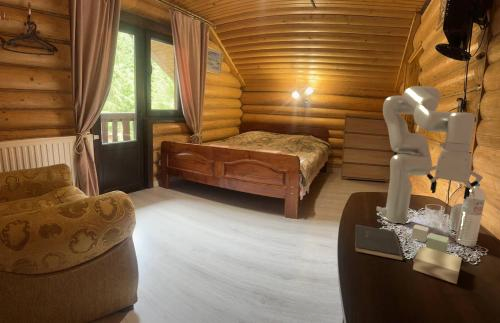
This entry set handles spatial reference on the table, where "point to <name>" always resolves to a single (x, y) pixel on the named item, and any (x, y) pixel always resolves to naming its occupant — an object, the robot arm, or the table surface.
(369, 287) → the table surface
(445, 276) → the birch block
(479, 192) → the water bottle
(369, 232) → the hardcover book
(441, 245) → the sage cube
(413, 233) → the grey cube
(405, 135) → the robot arm
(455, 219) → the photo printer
